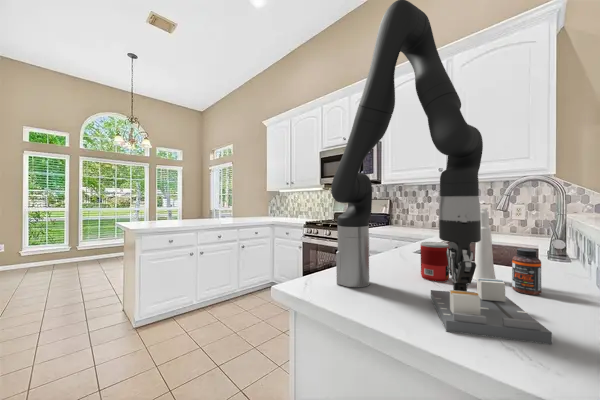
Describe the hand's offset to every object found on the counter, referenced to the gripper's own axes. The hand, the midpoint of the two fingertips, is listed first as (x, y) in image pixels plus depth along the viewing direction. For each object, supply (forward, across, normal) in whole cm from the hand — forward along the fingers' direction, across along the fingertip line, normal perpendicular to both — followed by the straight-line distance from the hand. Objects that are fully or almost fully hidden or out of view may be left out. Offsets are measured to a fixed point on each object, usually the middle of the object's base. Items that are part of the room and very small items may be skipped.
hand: (460, 300), depth 56 cm
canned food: (+4, -29, 0) cm, 30 cm away
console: (+4, -1, +4) cm, 5 cm away
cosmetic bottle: (+4, -31, +14) cm, 35 cm away
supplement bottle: (+4, -22, +21) cm, 31 cm away
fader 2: (+1, -7, +8) cm, 11 cm away
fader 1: (+1, +4, 0) cm, 4 cm away
